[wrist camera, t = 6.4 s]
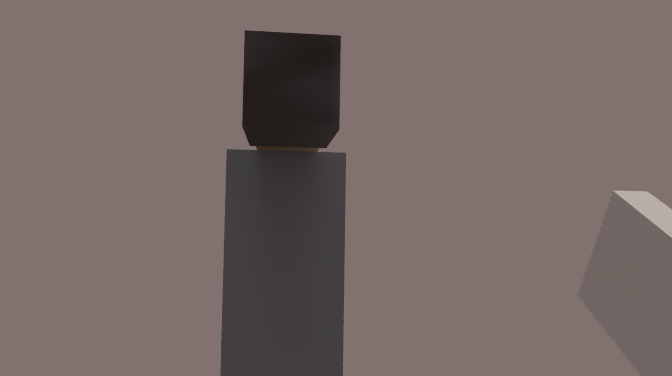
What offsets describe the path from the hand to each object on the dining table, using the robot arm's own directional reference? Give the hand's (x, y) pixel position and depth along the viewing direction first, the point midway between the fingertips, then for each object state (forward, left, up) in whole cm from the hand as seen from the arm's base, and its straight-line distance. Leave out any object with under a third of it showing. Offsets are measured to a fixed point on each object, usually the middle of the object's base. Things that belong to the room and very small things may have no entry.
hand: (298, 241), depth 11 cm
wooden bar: (0, +20, +4) cm, 21 cm away
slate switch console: (0, +22, -26) cm, 34 cm away
